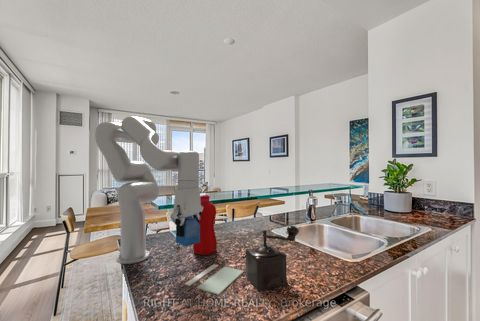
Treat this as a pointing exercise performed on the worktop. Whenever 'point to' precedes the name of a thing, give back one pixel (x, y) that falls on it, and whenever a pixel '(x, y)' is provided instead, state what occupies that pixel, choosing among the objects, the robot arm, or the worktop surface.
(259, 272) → the dark brown coffee grinder
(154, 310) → the worktop surface
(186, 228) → the perfume bottle
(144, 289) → the worktop surface
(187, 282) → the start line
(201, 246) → the water bottle
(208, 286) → the mat
